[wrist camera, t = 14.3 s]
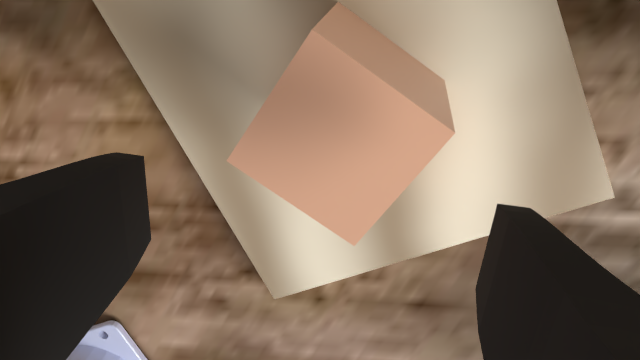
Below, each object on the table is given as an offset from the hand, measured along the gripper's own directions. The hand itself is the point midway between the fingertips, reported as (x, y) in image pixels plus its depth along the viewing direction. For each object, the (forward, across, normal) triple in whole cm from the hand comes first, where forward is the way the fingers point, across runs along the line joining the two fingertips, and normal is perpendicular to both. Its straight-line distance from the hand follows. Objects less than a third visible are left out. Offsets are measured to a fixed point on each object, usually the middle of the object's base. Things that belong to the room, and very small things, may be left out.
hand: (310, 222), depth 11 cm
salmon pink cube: (+9, 0, 0) cm, 9 cm away
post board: (+10, 0, 0) cm, 10 cm away
